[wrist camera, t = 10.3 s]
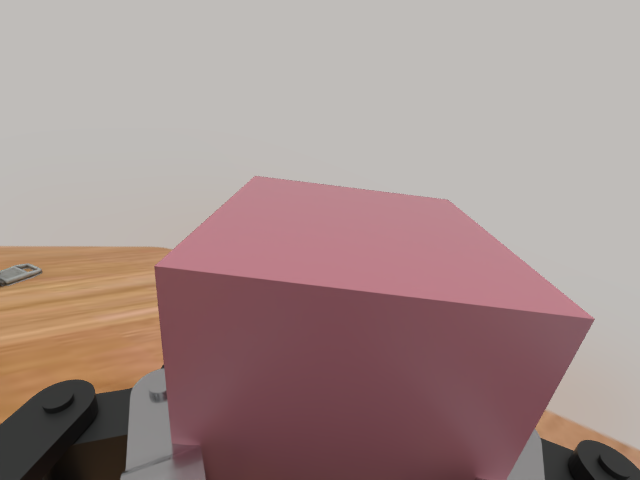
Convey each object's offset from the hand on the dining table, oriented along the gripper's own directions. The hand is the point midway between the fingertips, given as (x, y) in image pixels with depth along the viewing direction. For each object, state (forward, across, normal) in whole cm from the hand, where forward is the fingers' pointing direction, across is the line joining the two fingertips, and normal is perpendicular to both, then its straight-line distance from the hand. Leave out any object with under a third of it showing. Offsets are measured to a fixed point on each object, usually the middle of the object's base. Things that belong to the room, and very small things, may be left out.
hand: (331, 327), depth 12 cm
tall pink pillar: (-2, 0, +7) cm, 7 cm away
